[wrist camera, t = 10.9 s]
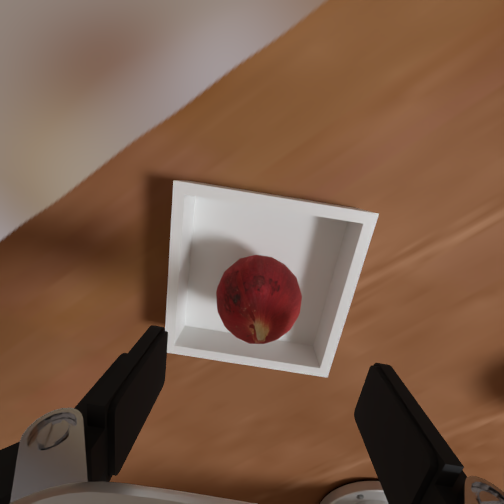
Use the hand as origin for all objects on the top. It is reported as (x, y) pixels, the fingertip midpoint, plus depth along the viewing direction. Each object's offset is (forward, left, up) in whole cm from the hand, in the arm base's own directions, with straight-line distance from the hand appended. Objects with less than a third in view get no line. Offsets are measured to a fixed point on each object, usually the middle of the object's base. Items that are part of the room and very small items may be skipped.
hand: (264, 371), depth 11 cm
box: (0, -1, -11) cm, 11 cm away
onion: (0, 0, -10) cm, 10 cm away
